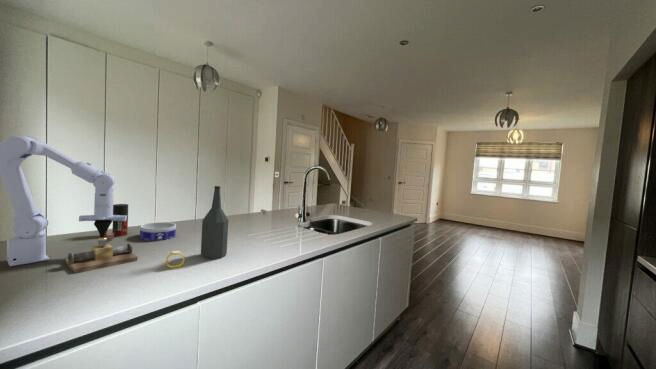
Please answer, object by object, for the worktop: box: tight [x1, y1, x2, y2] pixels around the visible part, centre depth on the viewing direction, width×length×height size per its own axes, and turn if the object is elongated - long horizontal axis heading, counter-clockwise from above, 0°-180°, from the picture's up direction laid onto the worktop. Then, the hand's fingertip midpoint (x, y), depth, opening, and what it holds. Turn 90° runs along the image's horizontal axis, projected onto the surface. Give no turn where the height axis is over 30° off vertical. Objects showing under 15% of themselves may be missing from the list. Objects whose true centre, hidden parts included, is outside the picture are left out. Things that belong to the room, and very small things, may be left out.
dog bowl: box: [139, 221, 177, 242], centre depth 137 cm, size 15×15×6 cm
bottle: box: [200, 185, 230, 260], centre depth 116 cm, size 10×10×30 cm
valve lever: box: [97, 232, 115, 246], centre depth 105 cm, size 11×3×3 cm, turn 25°
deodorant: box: [111, 203, 129, 238], centre depth 134 cm, size 6×6×15 cm
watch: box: [165, 250, 185, 269], centre depth 102 cm, size 6×3×6 cm, turn 122°
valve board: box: [63, 243, 138, 274], centre depth 102 cm, size 18×14×6 cm
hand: (103, 238), depth 108 cm, fingers closed
